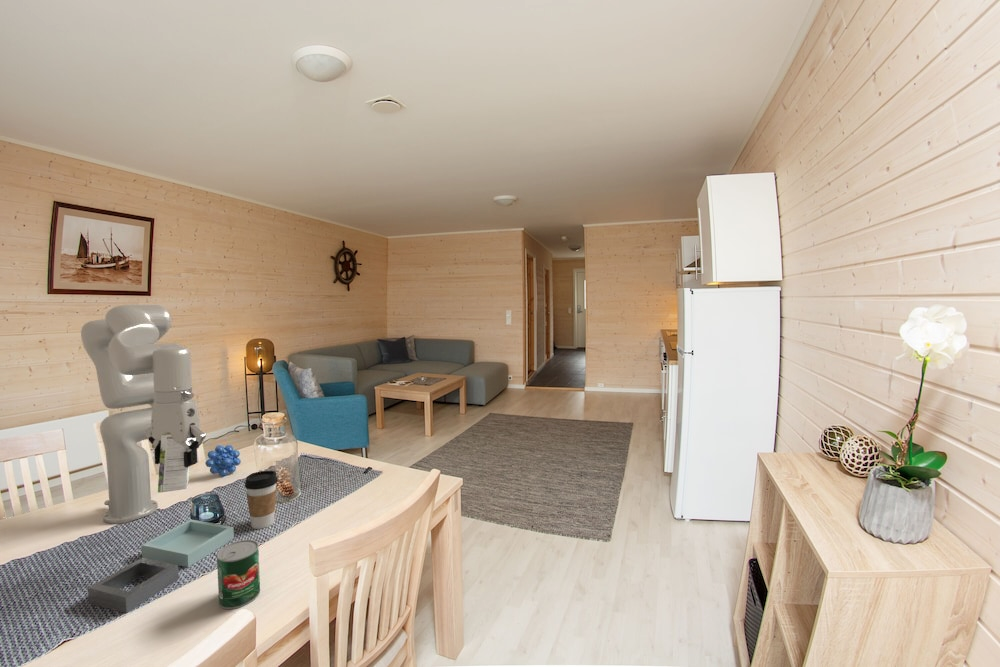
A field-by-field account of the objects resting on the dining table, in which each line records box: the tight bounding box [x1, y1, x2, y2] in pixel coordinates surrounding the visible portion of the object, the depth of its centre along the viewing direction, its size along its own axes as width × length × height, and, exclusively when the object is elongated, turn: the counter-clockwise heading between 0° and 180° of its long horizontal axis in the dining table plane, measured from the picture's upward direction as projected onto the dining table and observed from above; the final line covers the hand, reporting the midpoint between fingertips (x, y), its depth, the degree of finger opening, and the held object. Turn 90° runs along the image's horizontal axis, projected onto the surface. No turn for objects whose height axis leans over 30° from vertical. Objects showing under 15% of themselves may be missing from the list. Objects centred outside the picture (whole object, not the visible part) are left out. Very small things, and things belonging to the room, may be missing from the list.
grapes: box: [205, 444, 242, 477], centre depth 154 cm, size 12×7×12 cm, turn 146°
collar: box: [87, 557, 179, 614], centre depth 94 cm, size 11×11×4 cm
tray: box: [141, 519, 235, 568], centre depth 111 cm, size 15×13×3 cm
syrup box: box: [157, 433, 191, 494], centre depth 106 cm, size 6×6×14 cm
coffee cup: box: [244, 470, 278, 530], centre depth 122 cm, size 8×8×15 cm
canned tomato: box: [216, 539, 261, 610], centre depth 92 cm, size 8×8×11 cm
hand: (176, 463), depth 106 cm, fingers closed on syrup box, 7 cm apart
